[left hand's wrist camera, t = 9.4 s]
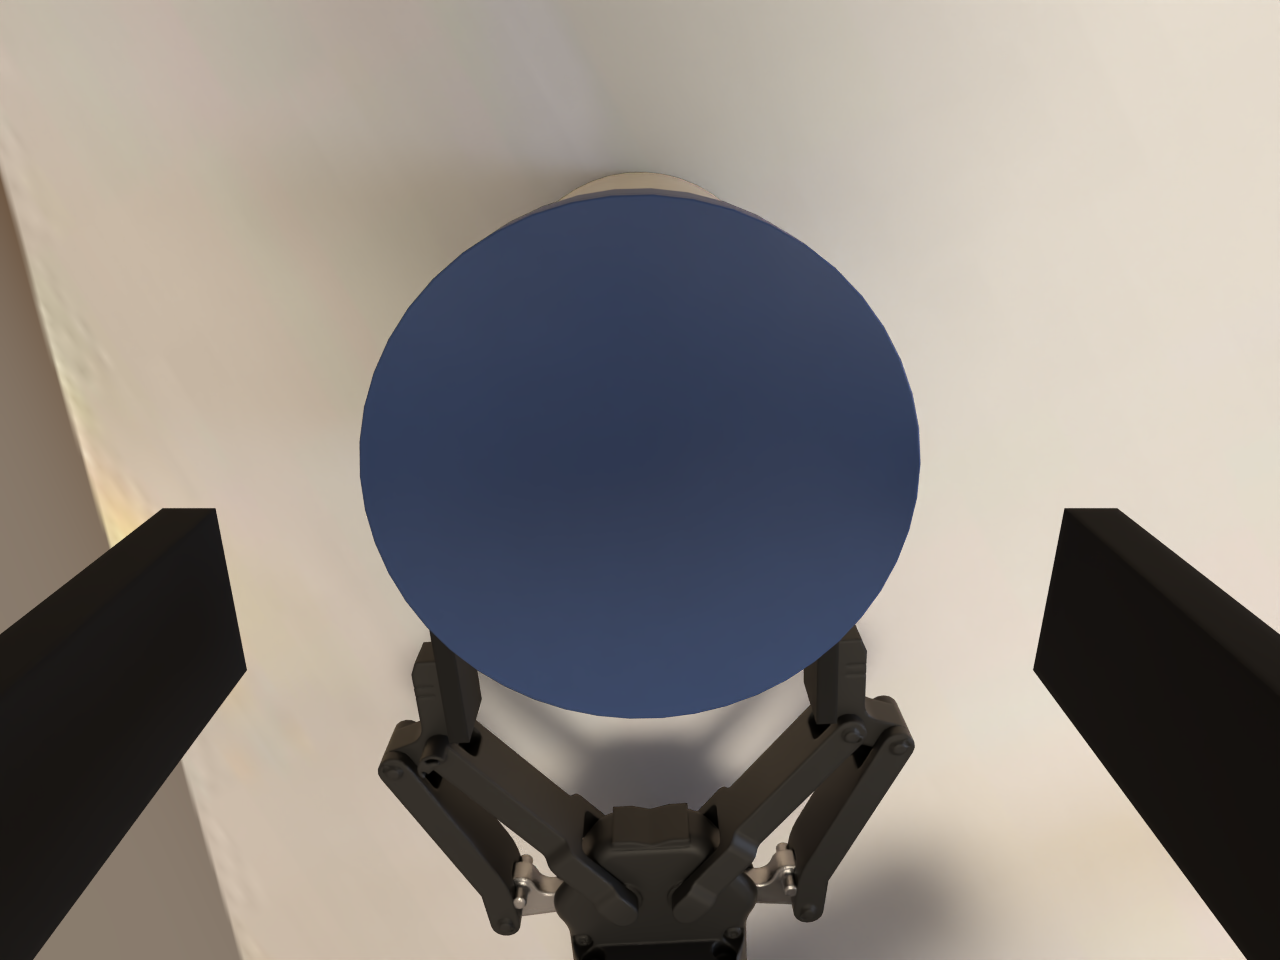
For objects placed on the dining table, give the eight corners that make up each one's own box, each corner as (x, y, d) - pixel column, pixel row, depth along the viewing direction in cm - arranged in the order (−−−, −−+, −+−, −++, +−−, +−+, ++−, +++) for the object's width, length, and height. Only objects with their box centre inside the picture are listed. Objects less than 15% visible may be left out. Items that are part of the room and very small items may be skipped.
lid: (896, 161, 16) (929, 164, 15) (889, 648, 20) (914, 699, 18) (337, 215, 17) (300, 225, 15) (436, 683, 21) (415, 737, 19)
